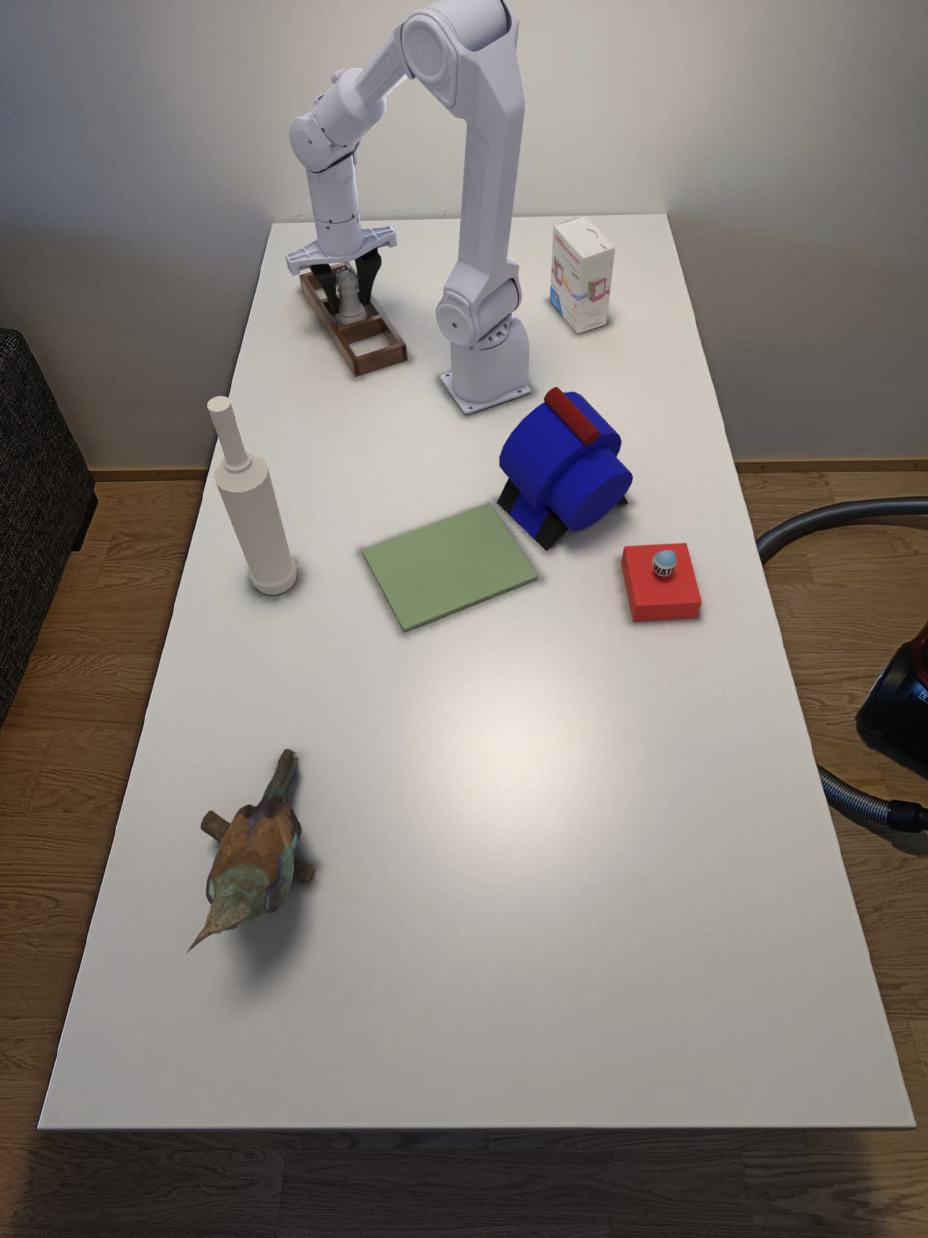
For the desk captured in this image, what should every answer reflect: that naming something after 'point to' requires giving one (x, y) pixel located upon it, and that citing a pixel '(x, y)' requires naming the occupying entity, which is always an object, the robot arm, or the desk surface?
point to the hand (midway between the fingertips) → (350, 305)
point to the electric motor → (562, 468)
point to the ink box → (581, 273)
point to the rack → (356, 328)
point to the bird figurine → (254, 856)
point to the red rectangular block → (660, 582)
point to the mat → (448, 566)
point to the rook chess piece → (348, 298)
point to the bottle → (251, 505)
